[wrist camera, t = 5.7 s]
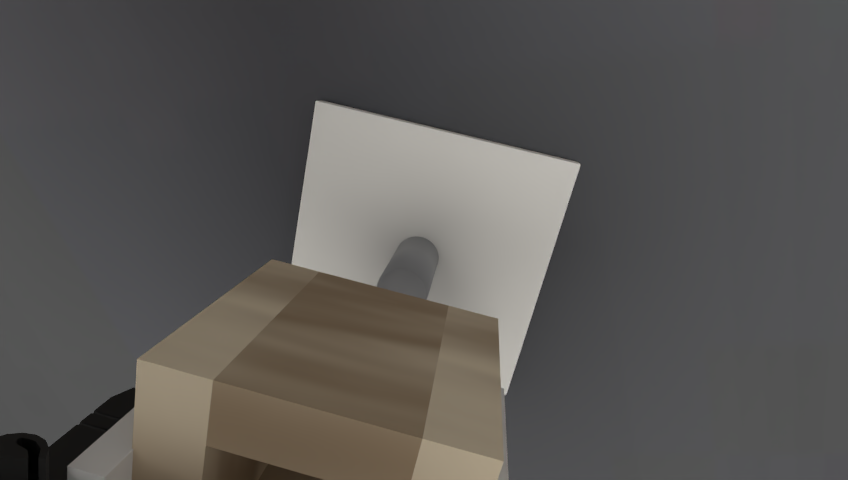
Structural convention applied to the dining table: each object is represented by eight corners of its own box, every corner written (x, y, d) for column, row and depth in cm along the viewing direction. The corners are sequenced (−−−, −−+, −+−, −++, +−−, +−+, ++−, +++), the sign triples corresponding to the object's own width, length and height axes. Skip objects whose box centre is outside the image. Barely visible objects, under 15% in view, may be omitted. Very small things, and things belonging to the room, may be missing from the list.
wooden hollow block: (272, 259, 15) (129, 364, 9) (498, 318, 15) (504, 469, 9) (245, 446, 17) (115, 631, 11) (442, 502, 17) (417, 725, 11)
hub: (322, 100, 27) (265, 102, 20) (577, 161, 26) (608, 186, 19) (287, 326, 31) (231, 392, 24) (505, 385, 30) (510, 469, 23)
